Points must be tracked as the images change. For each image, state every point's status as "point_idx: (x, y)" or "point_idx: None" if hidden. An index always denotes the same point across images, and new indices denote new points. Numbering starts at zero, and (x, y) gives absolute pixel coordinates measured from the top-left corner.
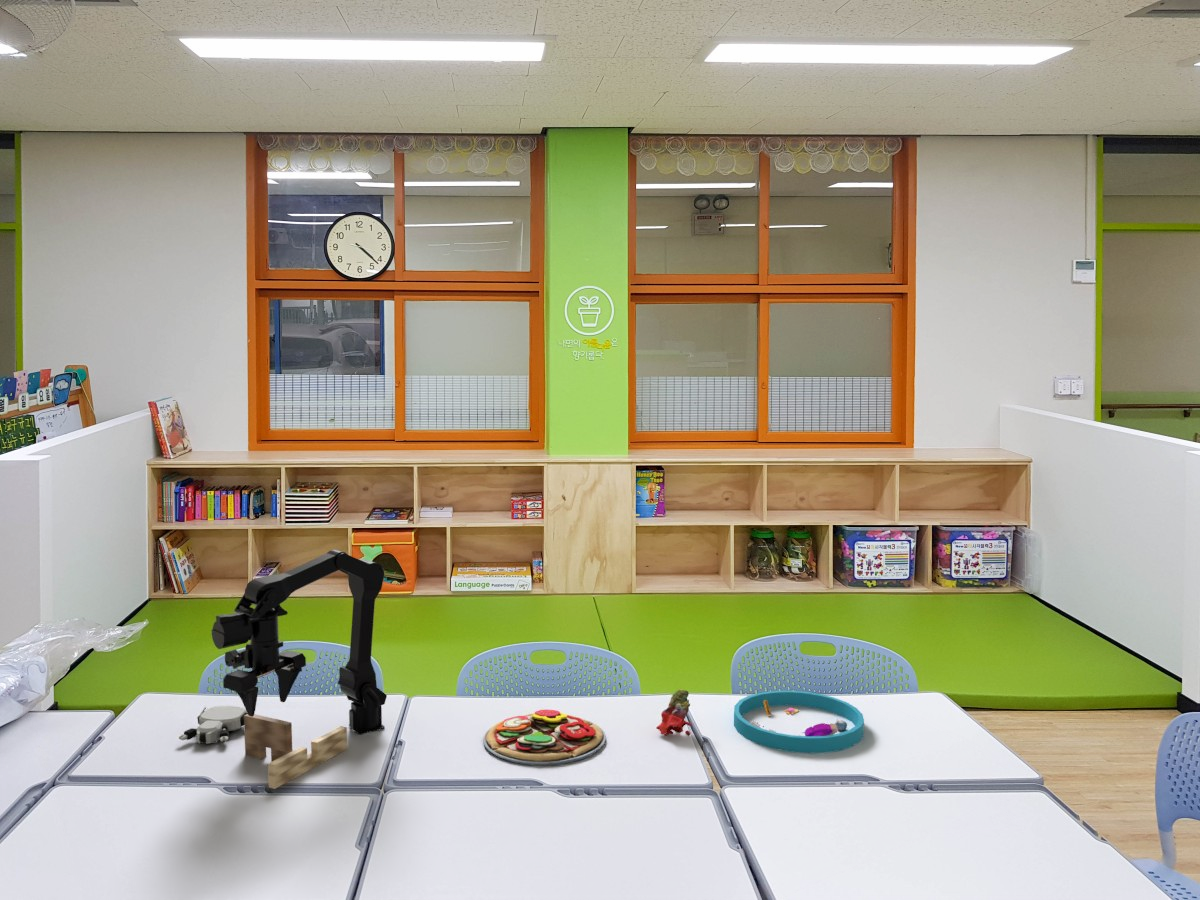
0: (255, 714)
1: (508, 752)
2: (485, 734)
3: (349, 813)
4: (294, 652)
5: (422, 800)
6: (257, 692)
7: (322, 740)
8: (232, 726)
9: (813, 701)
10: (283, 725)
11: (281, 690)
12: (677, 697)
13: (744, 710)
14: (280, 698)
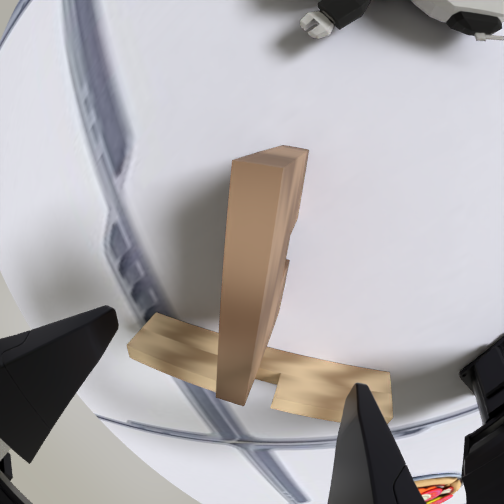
0: (273, 224)
1: None
2: (416, 480)
3: (165, 418)
4: None
5: (230, 462)
6: (39, 442)
7: (292, 411)
8: (418, 1)
9: None
10: (216, 387)
11: (352, 453)
12: None
13: None
14: (355, 398)
